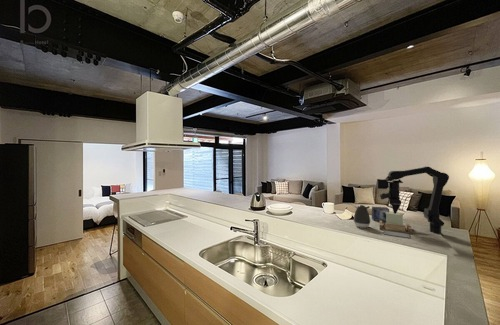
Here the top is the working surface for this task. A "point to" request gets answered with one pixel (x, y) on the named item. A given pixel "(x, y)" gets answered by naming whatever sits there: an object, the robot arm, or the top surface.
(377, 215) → the small box
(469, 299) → the top surface
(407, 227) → the walnut rack
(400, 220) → the pale green block
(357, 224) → the dark grey egg figure
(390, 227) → the offcut bundle
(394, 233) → the grey mat
